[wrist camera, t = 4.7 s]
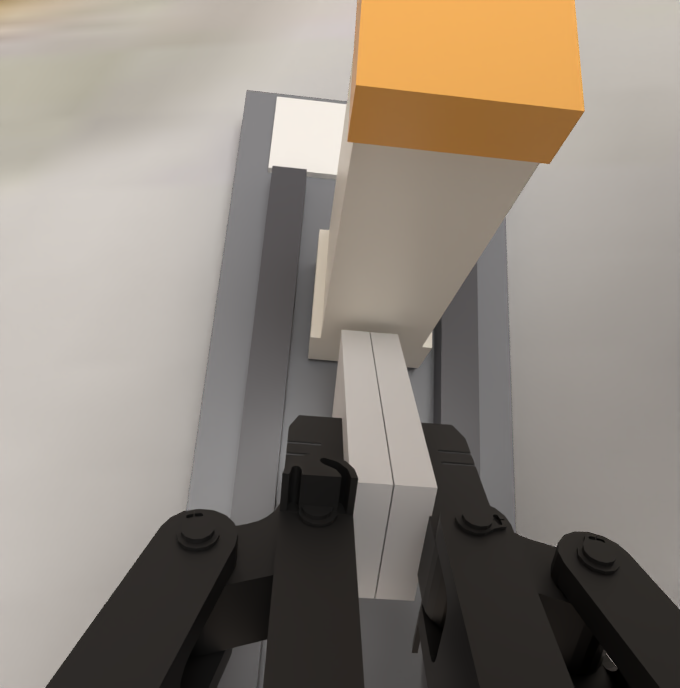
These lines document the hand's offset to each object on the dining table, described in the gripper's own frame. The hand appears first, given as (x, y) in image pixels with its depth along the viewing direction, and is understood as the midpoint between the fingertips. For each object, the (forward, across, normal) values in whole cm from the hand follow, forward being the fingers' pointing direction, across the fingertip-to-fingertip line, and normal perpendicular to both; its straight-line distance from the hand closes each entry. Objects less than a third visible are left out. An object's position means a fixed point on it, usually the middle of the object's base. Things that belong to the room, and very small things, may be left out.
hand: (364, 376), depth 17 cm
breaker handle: (+4, 0, 0) cm, 4 cm away
